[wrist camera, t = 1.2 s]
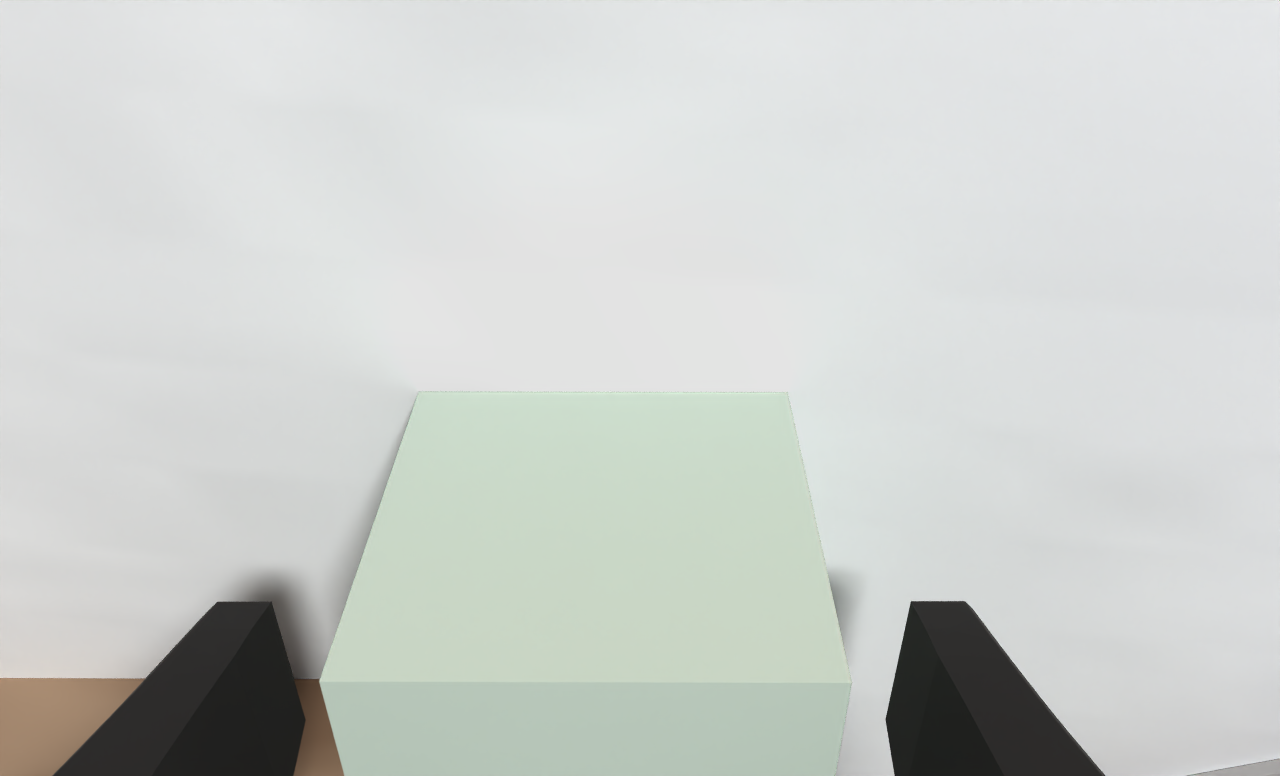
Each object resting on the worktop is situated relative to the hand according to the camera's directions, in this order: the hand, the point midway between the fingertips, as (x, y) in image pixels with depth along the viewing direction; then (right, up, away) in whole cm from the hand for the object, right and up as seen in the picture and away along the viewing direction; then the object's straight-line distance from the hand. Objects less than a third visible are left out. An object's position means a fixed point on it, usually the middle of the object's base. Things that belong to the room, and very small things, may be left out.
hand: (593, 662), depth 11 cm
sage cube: (0, +1, +2) cm, 2 cm away
